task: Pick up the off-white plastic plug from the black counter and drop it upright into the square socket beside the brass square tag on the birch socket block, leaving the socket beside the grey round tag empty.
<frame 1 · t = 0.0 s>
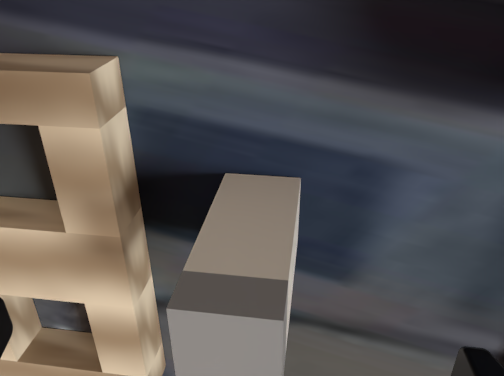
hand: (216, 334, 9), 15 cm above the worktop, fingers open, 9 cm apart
plug: (262, 207, 25), on the worktop
socket block: (53, 234, 28), on the worktop
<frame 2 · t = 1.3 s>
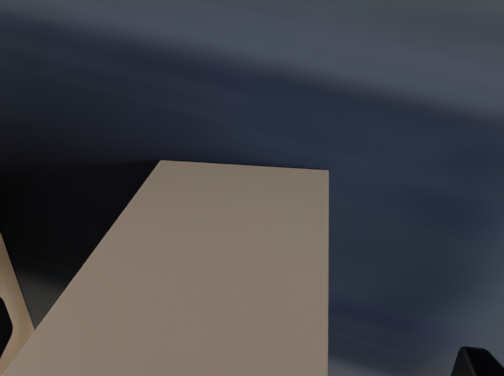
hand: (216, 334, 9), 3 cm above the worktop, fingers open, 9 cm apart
plug: (244, 234, 12), on the worktop
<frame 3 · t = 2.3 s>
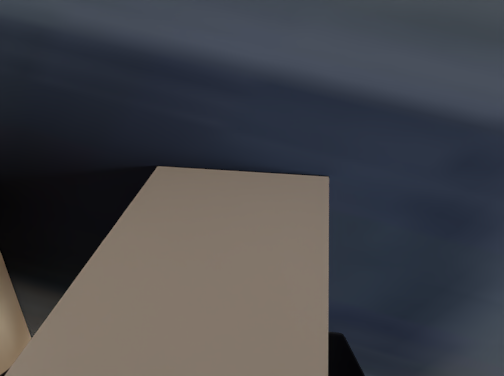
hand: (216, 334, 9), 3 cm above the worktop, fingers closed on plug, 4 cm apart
plug: (242, 241, 11), on the worktop, touching gripper
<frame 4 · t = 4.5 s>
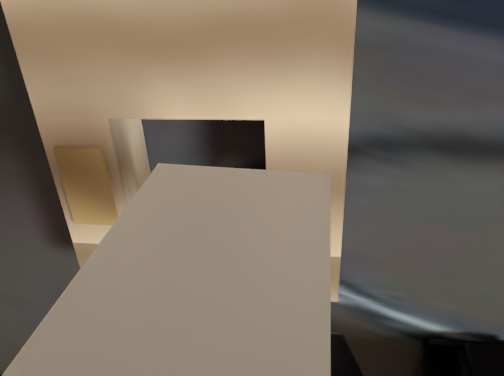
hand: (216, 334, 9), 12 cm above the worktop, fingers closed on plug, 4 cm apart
plug: (243, 239, 11), point 9 cm above the worktop, touching gripper
socket block: (197, 33, 18), on the worktop
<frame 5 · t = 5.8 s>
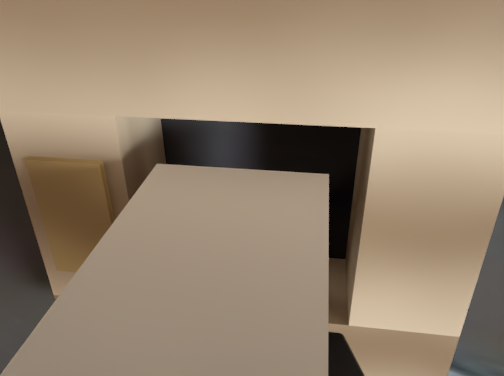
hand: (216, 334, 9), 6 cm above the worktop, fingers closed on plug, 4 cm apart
plug: (242, 239, 11), point 3 cm above the worktop, touching gripper
when the fingers open (4 cm above the worktop, at t = 6.9 s): plug drops 1 cm, resting in socket block.
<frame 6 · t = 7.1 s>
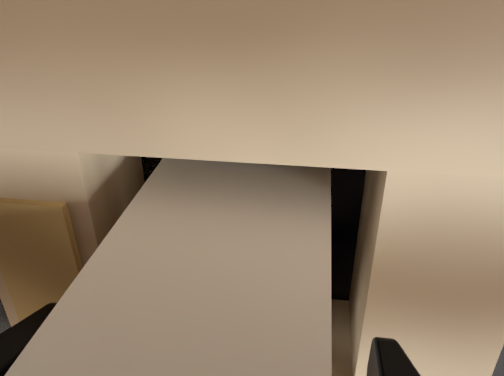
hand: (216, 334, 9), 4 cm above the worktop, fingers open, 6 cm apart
plug: (252, 208, 13), resting in socket block
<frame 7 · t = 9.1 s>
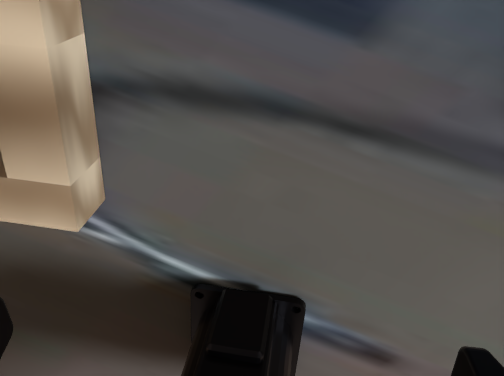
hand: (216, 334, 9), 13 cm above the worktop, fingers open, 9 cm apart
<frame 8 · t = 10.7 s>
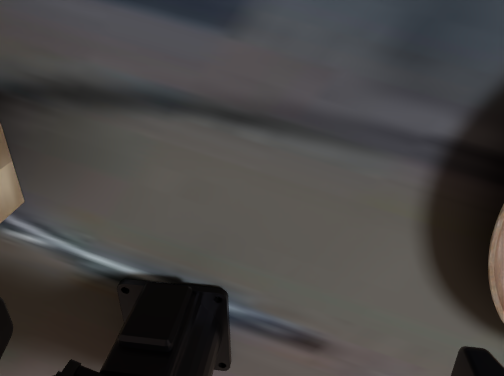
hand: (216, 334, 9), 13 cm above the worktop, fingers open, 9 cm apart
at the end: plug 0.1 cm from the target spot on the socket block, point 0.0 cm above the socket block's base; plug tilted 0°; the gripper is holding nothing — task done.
